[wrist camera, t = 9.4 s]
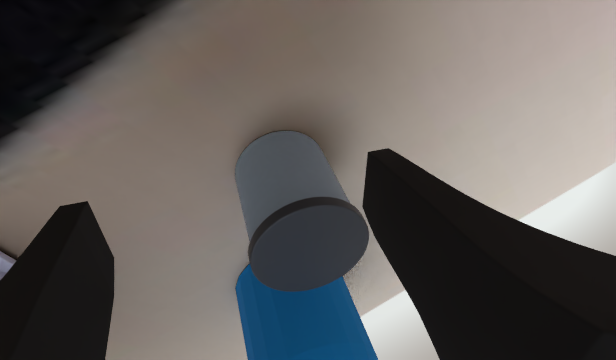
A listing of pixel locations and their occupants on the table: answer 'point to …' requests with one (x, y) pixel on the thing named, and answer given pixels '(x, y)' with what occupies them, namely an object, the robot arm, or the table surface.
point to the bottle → (301, 322)
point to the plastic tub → (296, 214)
